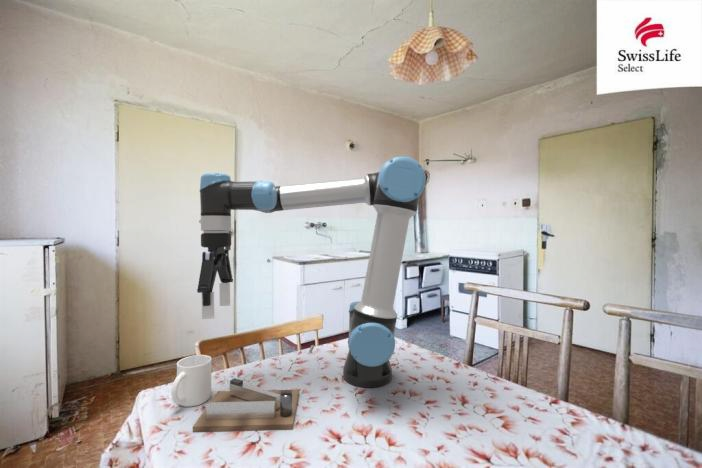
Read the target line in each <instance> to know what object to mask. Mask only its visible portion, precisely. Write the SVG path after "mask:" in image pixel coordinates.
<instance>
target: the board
mask: <svg viewBox="0 0 702 468" xmlns="http://www.w3.org/2000/svg"><path fill="white" fill-rule="evenodd" d="M265 390H266V391H270V392H273V393H277V394H281V391H292V415H291V416H290V417H281V416H280V407H279V408H278V409H277V410H276V409H275V418H270V419H230V420H206V408H205V409H204V410H203V412H201V414H200V416H199V417H198V418H197V420H196V422H195V423H194V424H193V426H192V433H203V432H204V433H205V432H207V433H211V432H213V433H214V432H240V431H241V432H243V431H244V432H245V431H246V432H247V431H251V432H252V431H280V430H282V431H283V430H285V431H286V430H293V428H294V423H295V419H296V413H297V407H298V403H299V399H300V398H299V397H300V389H265ZM209 402H251V401H248V400H245V399H242V398H238V397H235V396H232V395H230V390H217V391H216V393H215V394H214V396H213V397H212V398H211V400H210V401H209Z"/></svg>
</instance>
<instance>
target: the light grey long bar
mask: <svg viewBox="0 0 702 468" xmlns="http://www.w3.org/2000/svg"><path fill="white" fill-rule="evenodd" d="M266 390H267V389H263V388H259V387H256V386H252V385H249V384H245V383H244V380H242V379H239V378H236V377H233V378H232V379H230V380H229V391H230V395H232V396H235V397H238V398H242V399H245V400H248V401H276V406H275V409H276V410H277V409H278V408H279V407H280V394H277V393H273V392H270V391H266Z"/></svg>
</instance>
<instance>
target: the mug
mask: <svg viewBox="0 0 702 468" xmlns="http://www.w3.org/2000/svg"><path fill="white" fill-rule="evenodd" d="M212 364H213V363H212V356H210V355H205V354H195V355H194V354H193V355H189V356H186V357H185V356H184V357H183V358H181V359H180V360H178V361H177V362H176V377H175V379H174V381H173V383H172V387H171V399H172V402H173V403H174V404H176V405H177V404H178V405H179V406H181V407H186V408H187V407H188V408H189V407H190V408H192V407H195V406H200V405H202V404H205V403H206V402H207V401H208V400H209V399H210V398H211V396H212V374H213V373H212V368H213V367H212Z"/></svg>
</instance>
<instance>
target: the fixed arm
mask: <svg viewBox="0 0 702 468" xmlns="http://www.w3.org/2000/svg"><path fill="white" fill-rule="evenodd" d="M275 406H276V401H251V402H210V401H209V402H208V403H207V404H206V407H205V409H206V420H230V419H270V418H275ZM291 415H292V391H281V394H280V416H281V417H290V416H291Z"/></svg>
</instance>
